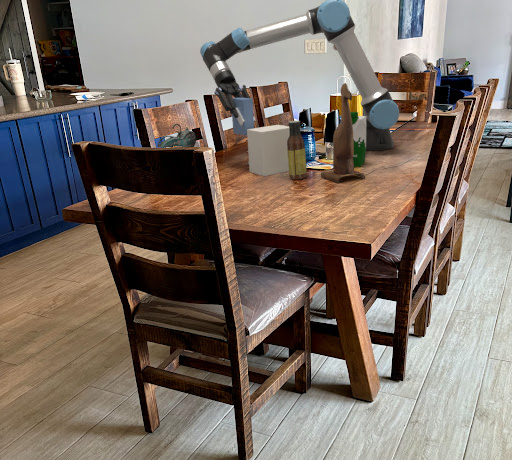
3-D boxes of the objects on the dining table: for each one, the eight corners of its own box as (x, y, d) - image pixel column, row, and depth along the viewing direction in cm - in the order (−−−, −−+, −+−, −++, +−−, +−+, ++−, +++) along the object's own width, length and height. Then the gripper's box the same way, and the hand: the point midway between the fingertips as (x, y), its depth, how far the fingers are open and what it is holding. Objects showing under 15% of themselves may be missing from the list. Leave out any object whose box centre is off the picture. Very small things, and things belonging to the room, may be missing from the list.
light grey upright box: (233, 166, 204) (230, 126, 198) (265, 160, 212) (263, 121, 206) (264, 176, 186) (261, 132, 180) (298, 168, 194) (297, 126, 188)
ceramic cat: (191, 172, 199) (185, 120, 192) (203, 173, 195) (198, 121, 188) (153, 184, 184) (146, 128, 177) (166, 186, 180) (159, 129, 173)
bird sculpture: (339, 185, 170) (341, 85, 158) (319, 177, 180) (320, 83, 168) (366, 180, 174) (370, 83, 163) (345, 172, 184) (348, 81, 173)
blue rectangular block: (233, 132, 198) (230, 98, 194) (242, 131, 200) (239, 97, 196) (245, 135, 191) (243, 99, 187) (254, 133, 193) (252, 98, 189)
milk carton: (339, 167, 193) (338, 113, 186) (345, 162, 200) (345, 110, 194) (362, 168, 189) (362, 113, 182) (367, 162, 197) (368, 110, 190)
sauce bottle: (308, 176, 182) (307, 119, 176) (304, 180, 177) (302, 122, 170) (290, 175, 185) (288, 120, 178) (286, 179, 179) (283, 122, 172)
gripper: (238, 81, 206) (263, 126, 198) (201, 85, 198) (225, 132, 190) (244, 67, 200) (270, 113, 192) (206, 70, 192) (231, 118, 184)
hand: (248, 122), depth 191 cm, fingers closed on blue rectangular block, 4 cm apart
